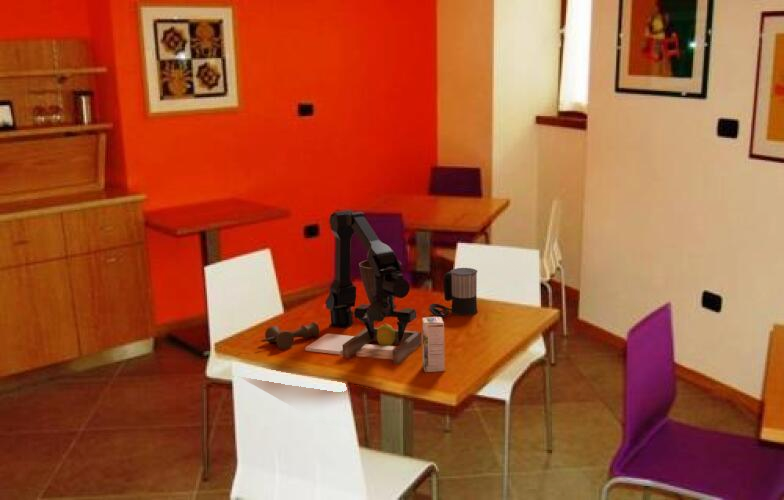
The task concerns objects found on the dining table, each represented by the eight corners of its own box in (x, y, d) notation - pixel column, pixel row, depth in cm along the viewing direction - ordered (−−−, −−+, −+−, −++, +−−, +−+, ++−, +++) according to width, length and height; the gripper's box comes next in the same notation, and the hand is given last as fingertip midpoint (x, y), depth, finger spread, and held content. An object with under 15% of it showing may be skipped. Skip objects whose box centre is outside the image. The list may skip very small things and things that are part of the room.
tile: (305, 350, 249) (305, 347, 249) (327, 336, 261) (327, 333, 261) (340, 354, 244) (340, 351, 244) (360, 340, 257) (360, 337, 256)
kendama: (324, 341, 259) (268, 354, 247) (309, 335, 266) (254, 346, 255) (323, 323, 257) (267, 335, 246) (309, 317, 265) (253, 328, 254)
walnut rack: (343, 357, 242) (342, 344, 241) (368, 338, 258) (368, 326, 257) (398, 364, 234) (397, 351, 233) (421, 344, 250) (421, 331, 249)
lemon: (393, 351, 245) (392, 326, 243) (375, 351, 246) (374, 325, 244) (397, 345, 250) (396, 320, 248) (379, 344, 251) (378, 320, 250)
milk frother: (482, 310, 283) (482, 269, 279) (461, 322, 270) (460, 279, 266) (446, 305, 290) (445, 265, 287) (424, 317, 277) (423, 275, 274)
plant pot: (359, 301, 299) (357, 259, 295) (399, 299, 300) (398, 257, 297) (362, 313, 284) (360, 269, 281) (404, 310, 286) (403, 266, 282)
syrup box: (422, 365, 232) (420, 317, 229) (442, 364, 233) (441, 315, 230) (424, 372, 227) (423, 323, 224) (445, 371, 227) (444, 322, 224)
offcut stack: (356, 357, 243) (355, 347, 242) (361, 352, 246) (360, 343, 246) (393, 360, 238) (393, 351, 238) (398, 356, 242) (398, 346, 241)
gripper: (344, 295, 241) (346, 345, 244) (401, 300, 233) (403, 351, 237) (360, 286, 251) (362, 334, 254) (416, 290, 243) (418, 339, 247)
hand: (386, 340), depth 248 cm, fingers open, 9 cm apart
